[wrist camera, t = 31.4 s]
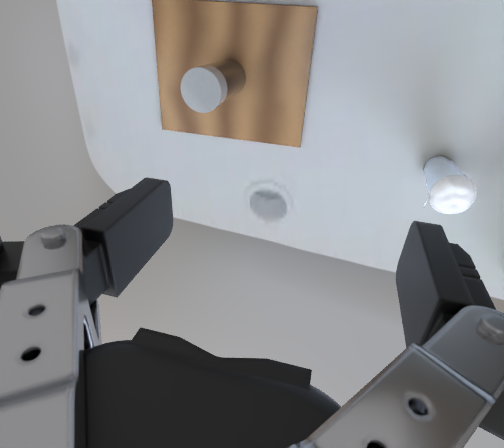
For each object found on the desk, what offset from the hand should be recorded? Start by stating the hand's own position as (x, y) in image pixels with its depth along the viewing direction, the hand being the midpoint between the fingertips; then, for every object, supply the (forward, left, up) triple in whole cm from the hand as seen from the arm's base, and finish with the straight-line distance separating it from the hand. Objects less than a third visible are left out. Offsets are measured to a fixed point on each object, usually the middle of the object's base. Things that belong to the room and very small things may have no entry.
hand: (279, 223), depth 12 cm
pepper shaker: (+13, -3, -36) cm, 38 cm away
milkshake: (-10, +14, -36) cm, 40 cm away
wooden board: (+12, -3, -36) cm, 38 cm away
